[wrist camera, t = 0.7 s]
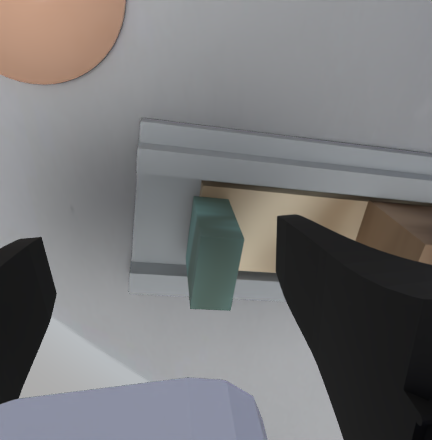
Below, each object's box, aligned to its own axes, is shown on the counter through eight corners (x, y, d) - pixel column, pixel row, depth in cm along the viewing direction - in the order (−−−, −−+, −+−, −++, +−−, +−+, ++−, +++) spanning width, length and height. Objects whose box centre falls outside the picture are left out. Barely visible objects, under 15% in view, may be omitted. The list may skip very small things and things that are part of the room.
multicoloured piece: (455, 205, 22) (532, 249, 18) (426, 275, 24) (487, 331, 20) (194, 179, 20) (202, 222, 15) (183, 259, 22) (188, 319, 17)
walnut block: (450, 208, 21) (526, 252, 17) (418, 283, 23) (478, 340, 19) (368, 200, 21) (425, 244, 16) (343, 278, 23) (387, 337, 18)
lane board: (485, 160, 23) (516, 172, 21) (424, 299, 27) (445, 320, 25) (141, 117, 19) (138, 126, 17) (130, 284, 23) (127, 306, 21)
